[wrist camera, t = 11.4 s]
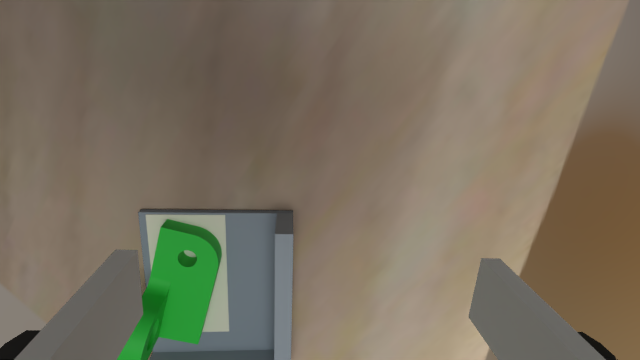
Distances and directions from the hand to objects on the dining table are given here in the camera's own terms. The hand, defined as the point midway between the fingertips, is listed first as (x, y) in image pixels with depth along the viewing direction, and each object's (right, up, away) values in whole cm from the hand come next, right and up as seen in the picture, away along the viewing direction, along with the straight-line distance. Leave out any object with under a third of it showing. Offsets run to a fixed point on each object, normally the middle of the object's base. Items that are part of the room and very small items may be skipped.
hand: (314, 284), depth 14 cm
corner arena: (-10, -8, +26) cm, 29 cm away
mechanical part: (-14, -6, +24) cm, 29 cm away
